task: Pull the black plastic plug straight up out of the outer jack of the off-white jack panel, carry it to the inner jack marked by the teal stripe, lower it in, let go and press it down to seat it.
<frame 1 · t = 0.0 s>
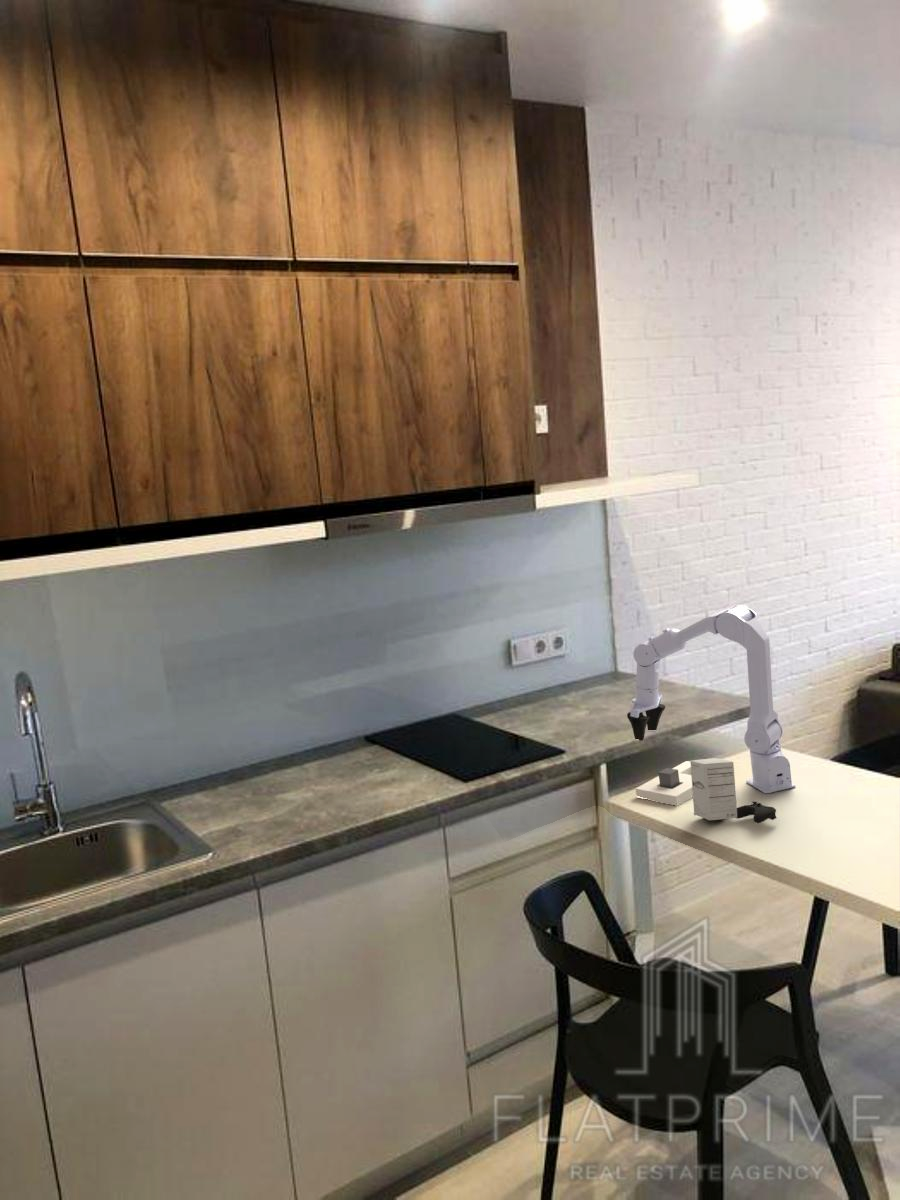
hand: (645, 735, 245), 11 cm above the table, tool pointing down, fingers open, 7 cm apart
game controller: (756, 820, 205), point 1 cm above the table, touching supplement box
jack panel: (682, 787, 233), on the table
supplement box: (715, 817, 209), point 1 cm above the table, touching game controller
plug: (671, 794, 230), resting in jack panel
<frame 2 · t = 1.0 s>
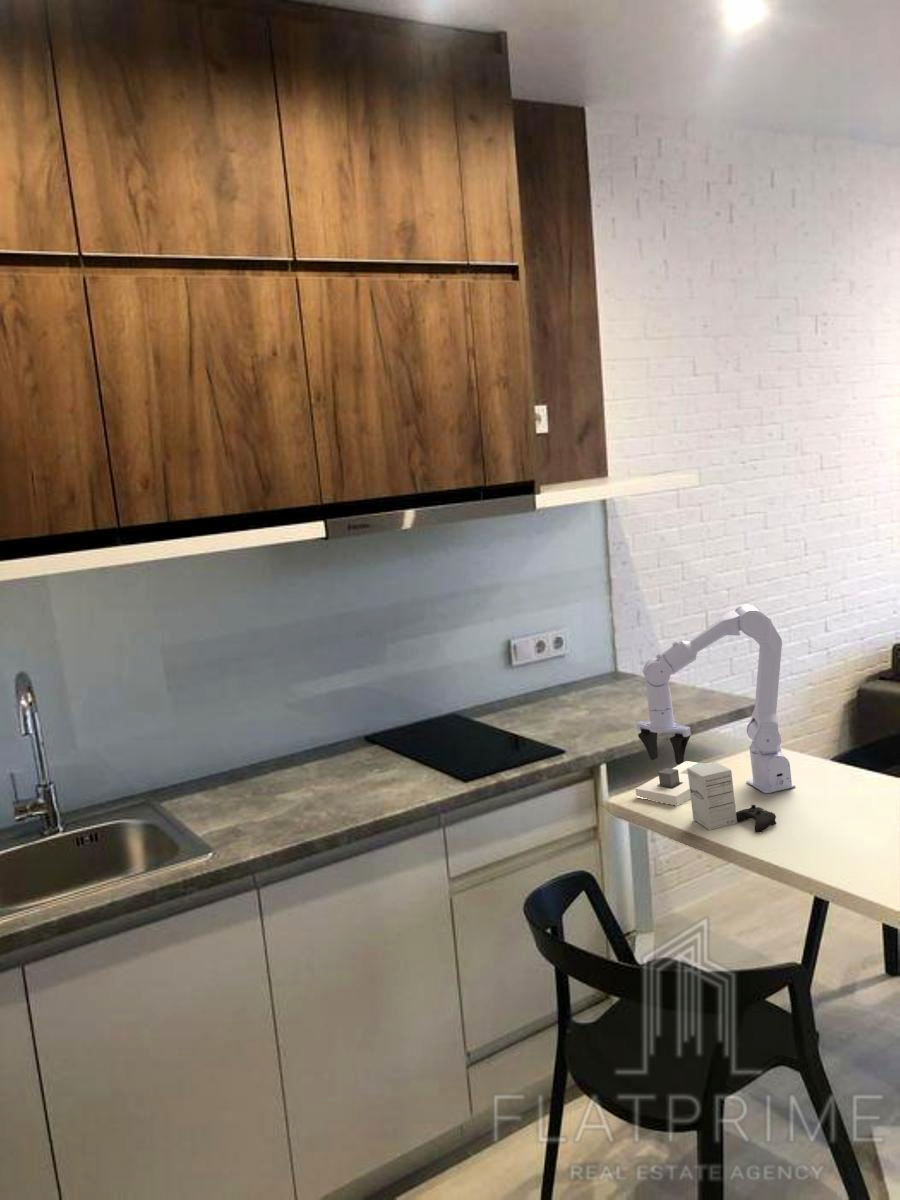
hand: (666, 760, 228), 9 cm above the table, tool pointing down, fingers open, 7 cm apart
game controller: (756, 825, 205), on the table, touching supplement box
supplement box: (715, 822, 209), on the table, touching game controller
everything else where it was.
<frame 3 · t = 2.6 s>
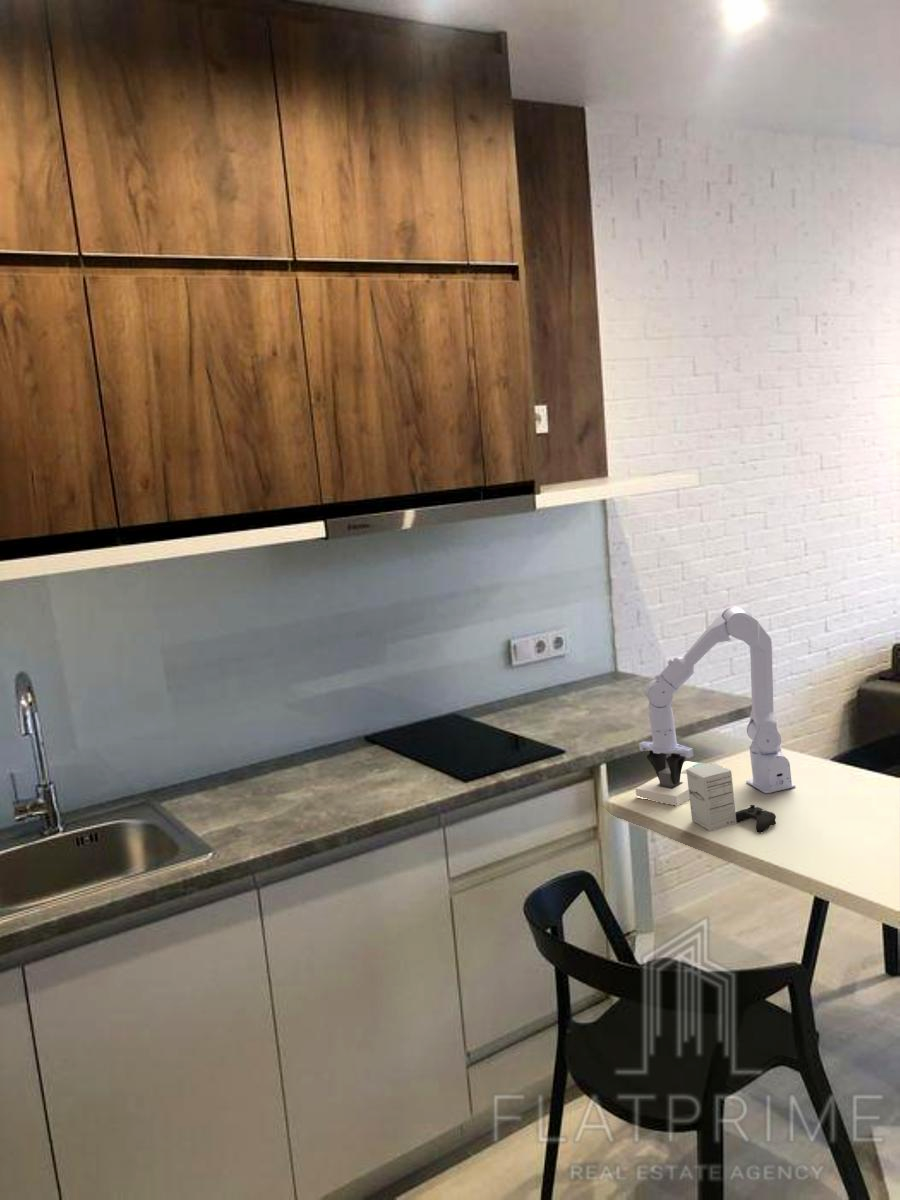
hand: (669, 781, 229), 3 cm above the table, tool pointing down, fingers closed on plug, 3 cm apart
plug: (671, 794, 230), resting in jack panel, touching gripper
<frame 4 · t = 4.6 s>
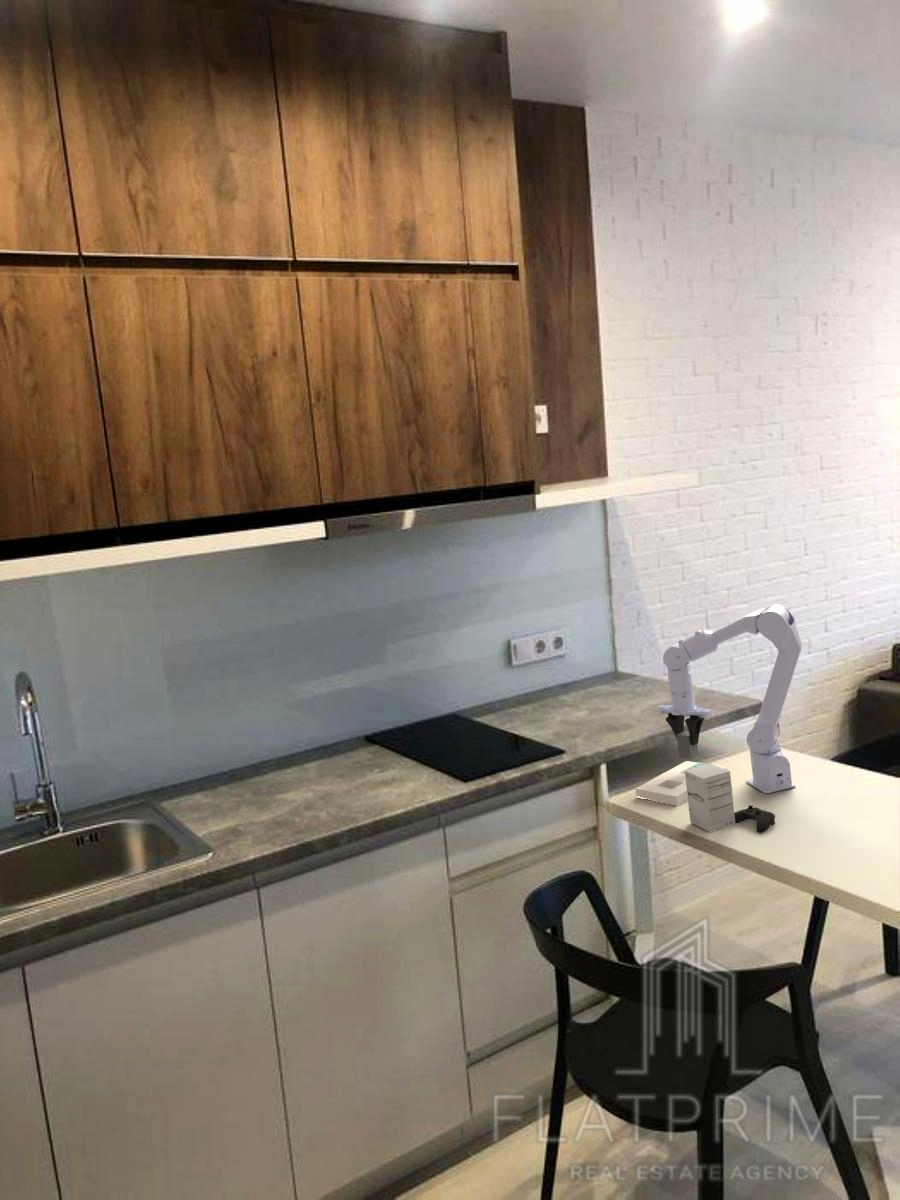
hand: (688, 743, 234), 10 cm above the table, tool pointing down, fingers closed on plug, 3 cm apart
plug: (688, 756, 234), point 7 cm above the table, touching gripper
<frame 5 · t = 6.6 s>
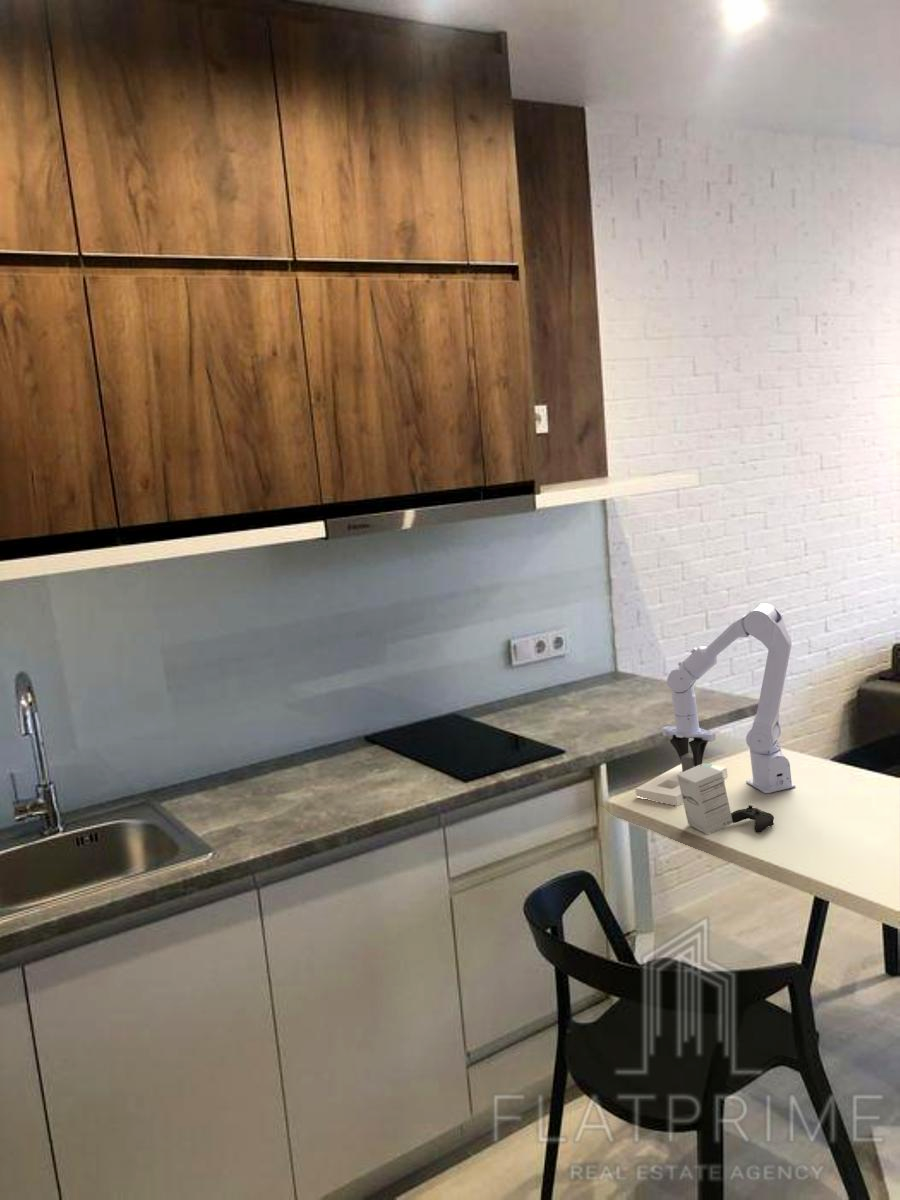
hand: (692, 765, 235), 4 cm above the table, tool pointing down, fingers closed on plug, 3 cm apart
game controller: (753, 826, 204), on the table, touching supplement box
supplement box: (710, 825, 207), on the table, touching game controller
plug: (692, 778, 236), point 1 cm above the table, touching gripper
when the fingers open (4 cm above the table, at t = 6.9 s): plug stays where it is, resting in jack panel.
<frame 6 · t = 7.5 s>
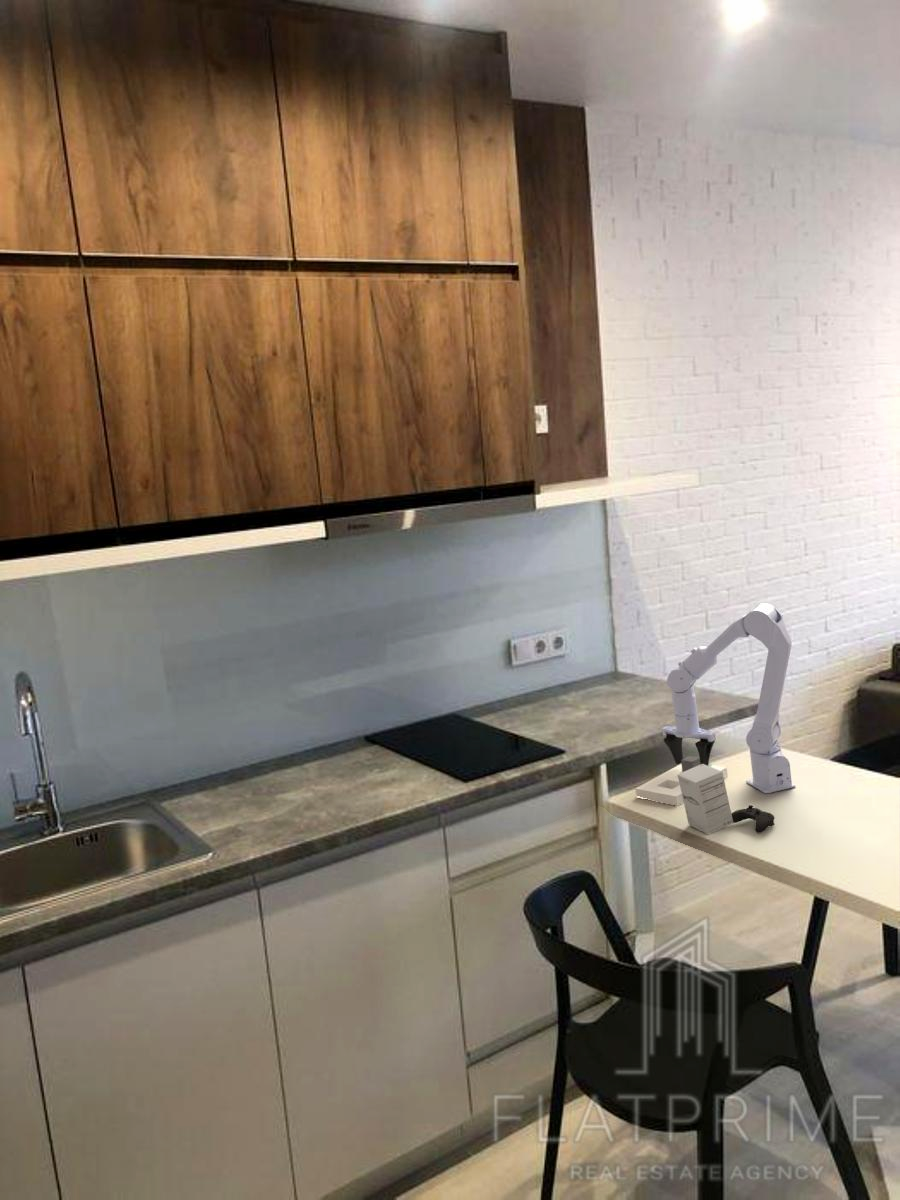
hand: (692, 765, 235), 4 cm above the table, tool pointing down, fingers open, 7 cm apart
plug: (693, 781, 236), resting in jack panel
everything else where it was.
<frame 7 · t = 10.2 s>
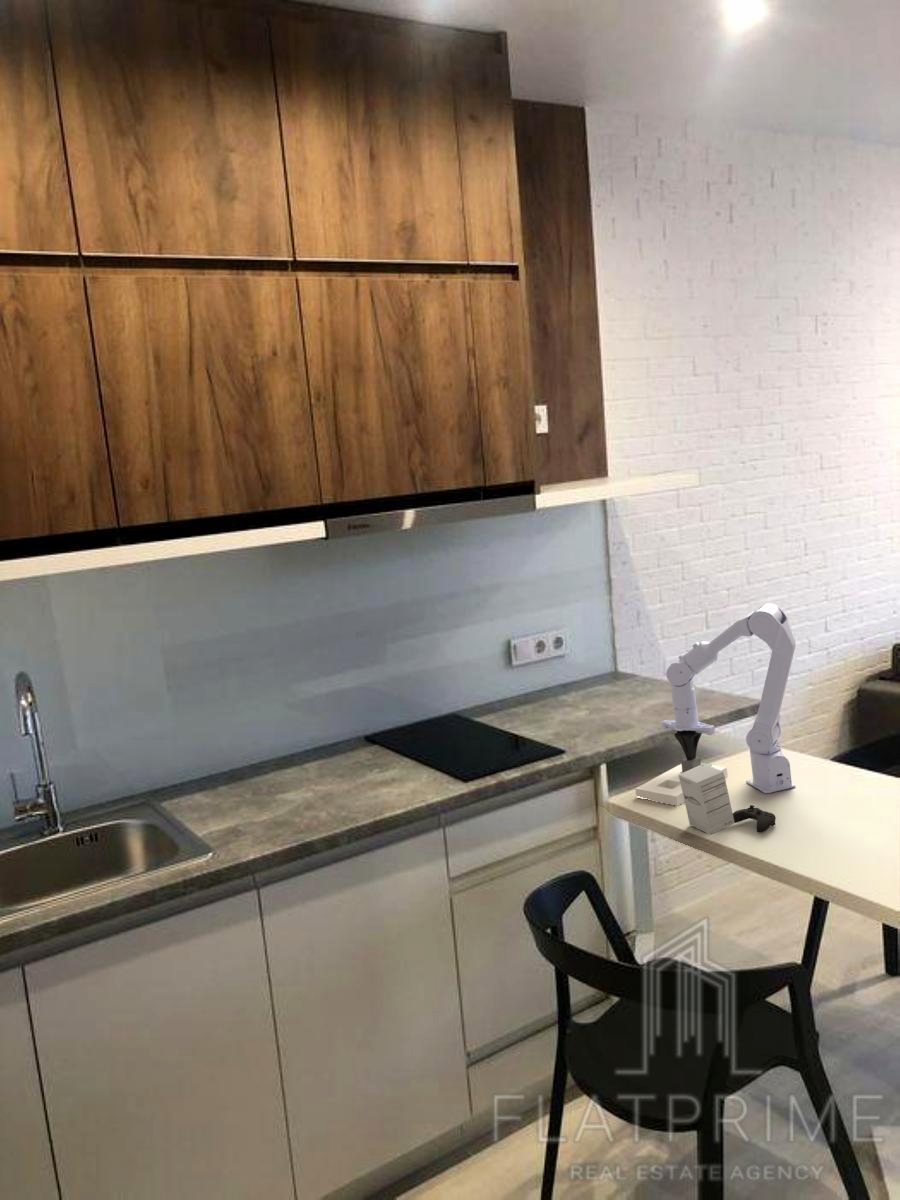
hand: (691, 758, 235), 6 cm above the table, tool pointing down, fingers closed, pressing on plug
plug: (693, 781, 236), resting in jack panel, touching gripper
everything else where it was.
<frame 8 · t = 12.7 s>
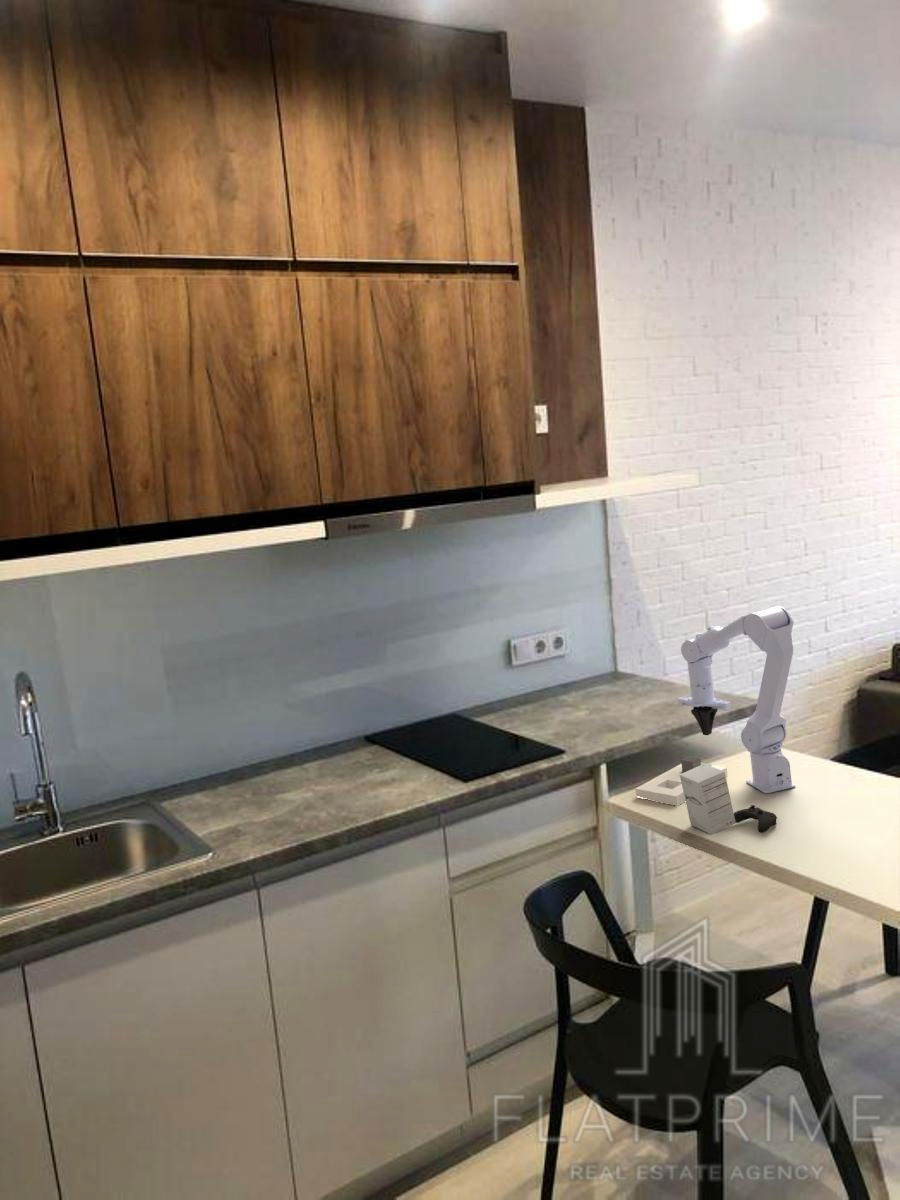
hand: (707, 734, 242), 9 cm above the table, tool pointing down, fingers closed
plug: (693, 781, 236), resting in jack panel
everything else where it was.
at the end: plug 0.2 cm from the target spot on the jack panel, point 0.0 cm above the jack panel's base; plug tilted 0°; the gripper is holding nothing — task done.
